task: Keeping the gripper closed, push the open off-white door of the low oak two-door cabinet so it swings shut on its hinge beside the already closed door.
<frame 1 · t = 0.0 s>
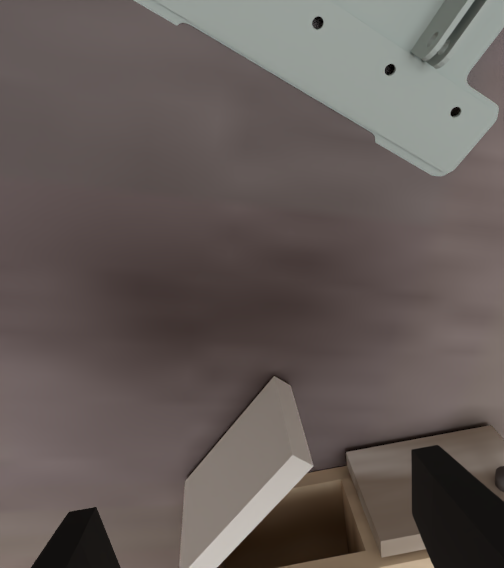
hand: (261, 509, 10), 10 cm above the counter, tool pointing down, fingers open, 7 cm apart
cabinet: (347, 519, 25), on the counter
door: (238, 474, 19), point 3 cm above the counter, hinge at 45.0°
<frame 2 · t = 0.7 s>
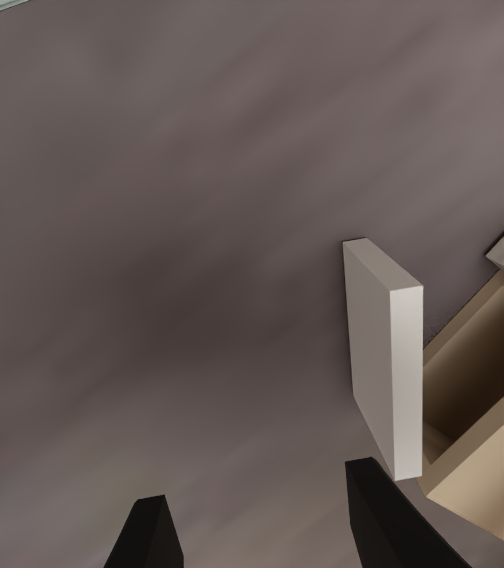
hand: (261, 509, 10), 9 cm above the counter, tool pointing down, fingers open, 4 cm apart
door: (380, 353, 17), point 3 cm above the counter, hinge at 45.0°
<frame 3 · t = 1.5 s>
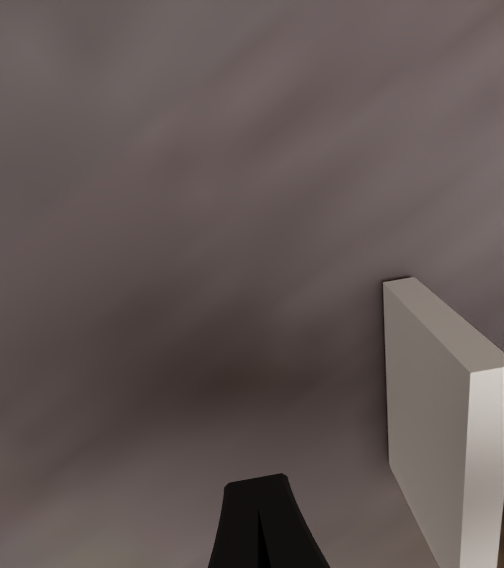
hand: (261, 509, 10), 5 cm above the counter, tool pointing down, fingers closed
door: (434, 429, 13), point 3 cm above the counter, hinge at 45.0°
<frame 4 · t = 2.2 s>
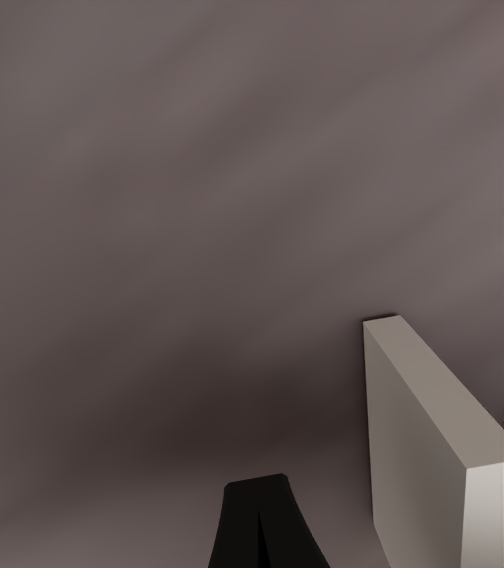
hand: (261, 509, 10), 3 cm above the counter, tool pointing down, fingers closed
door: (423, 502, 11), point 3 cm above the counter, hinge at 45.0°
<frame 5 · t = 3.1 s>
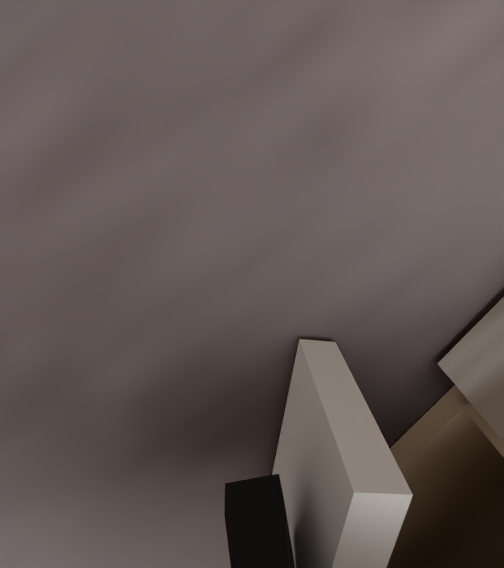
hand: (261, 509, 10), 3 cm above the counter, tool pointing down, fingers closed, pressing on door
door: (309, 525, 11), point 3 cm above the counter, hinge at 28.7°, touching gripper
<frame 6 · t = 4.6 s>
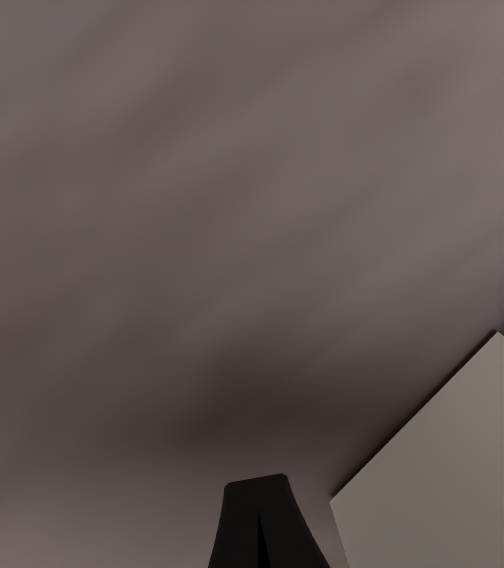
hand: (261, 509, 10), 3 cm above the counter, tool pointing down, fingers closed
door: (461, 496, 11), point 3 cm above the counter, hinge at 0.5°
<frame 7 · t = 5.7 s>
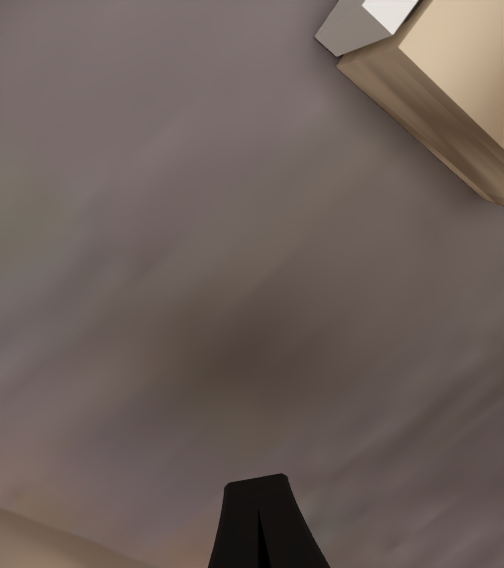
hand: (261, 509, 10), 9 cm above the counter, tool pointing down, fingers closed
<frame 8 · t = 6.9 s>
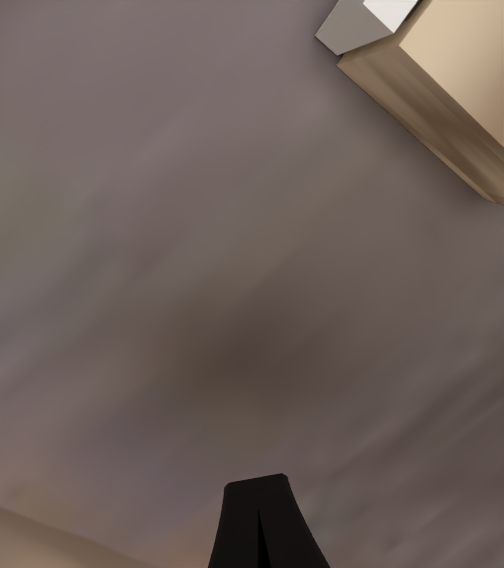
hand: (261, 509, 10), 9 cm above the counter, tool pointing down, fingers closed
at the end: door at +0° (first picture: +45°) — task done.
